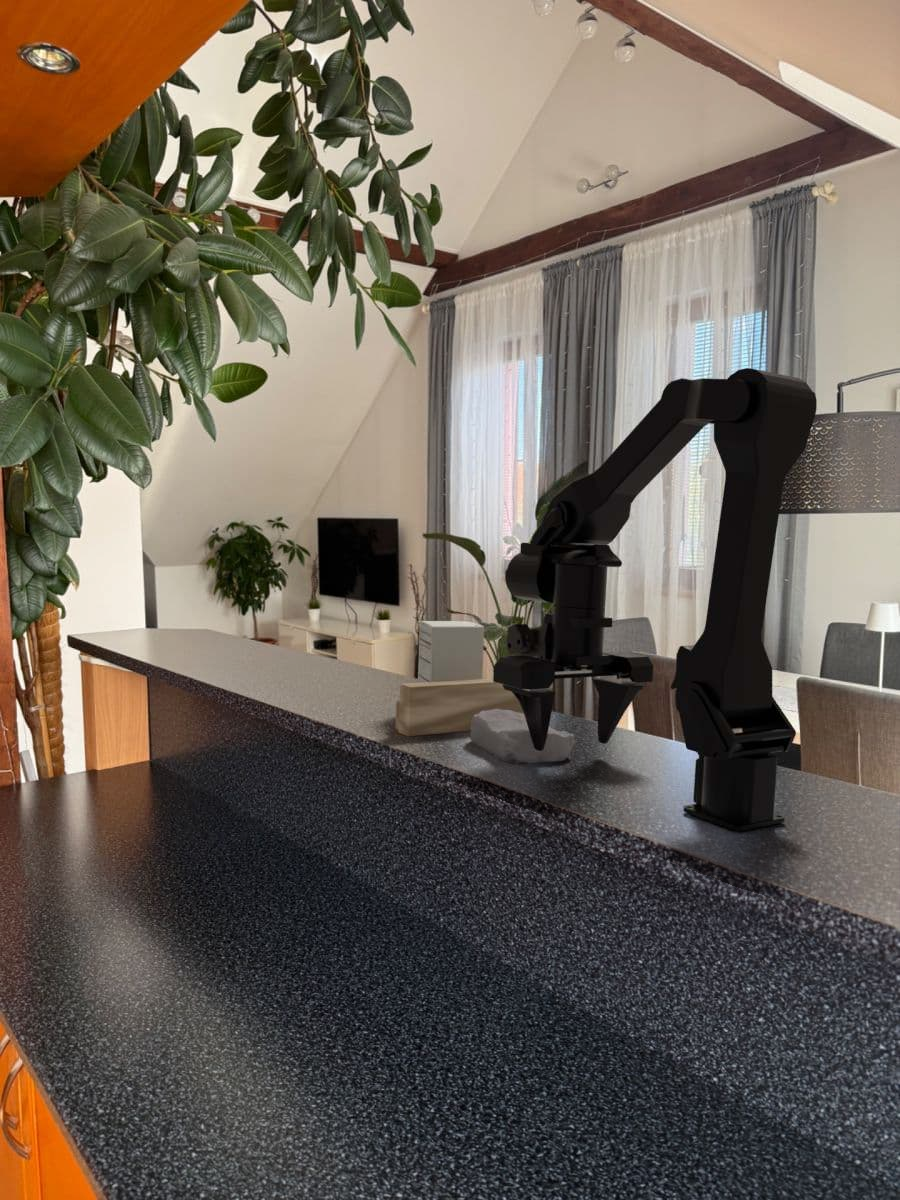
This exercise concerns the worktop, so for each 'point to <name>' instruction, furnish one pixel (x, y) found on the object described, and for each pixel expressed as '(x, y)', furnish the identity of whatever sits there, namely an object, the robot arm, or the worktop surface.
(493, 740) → the stone block
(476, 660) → the supplement box
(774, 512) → the robot arm
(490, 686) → the block
